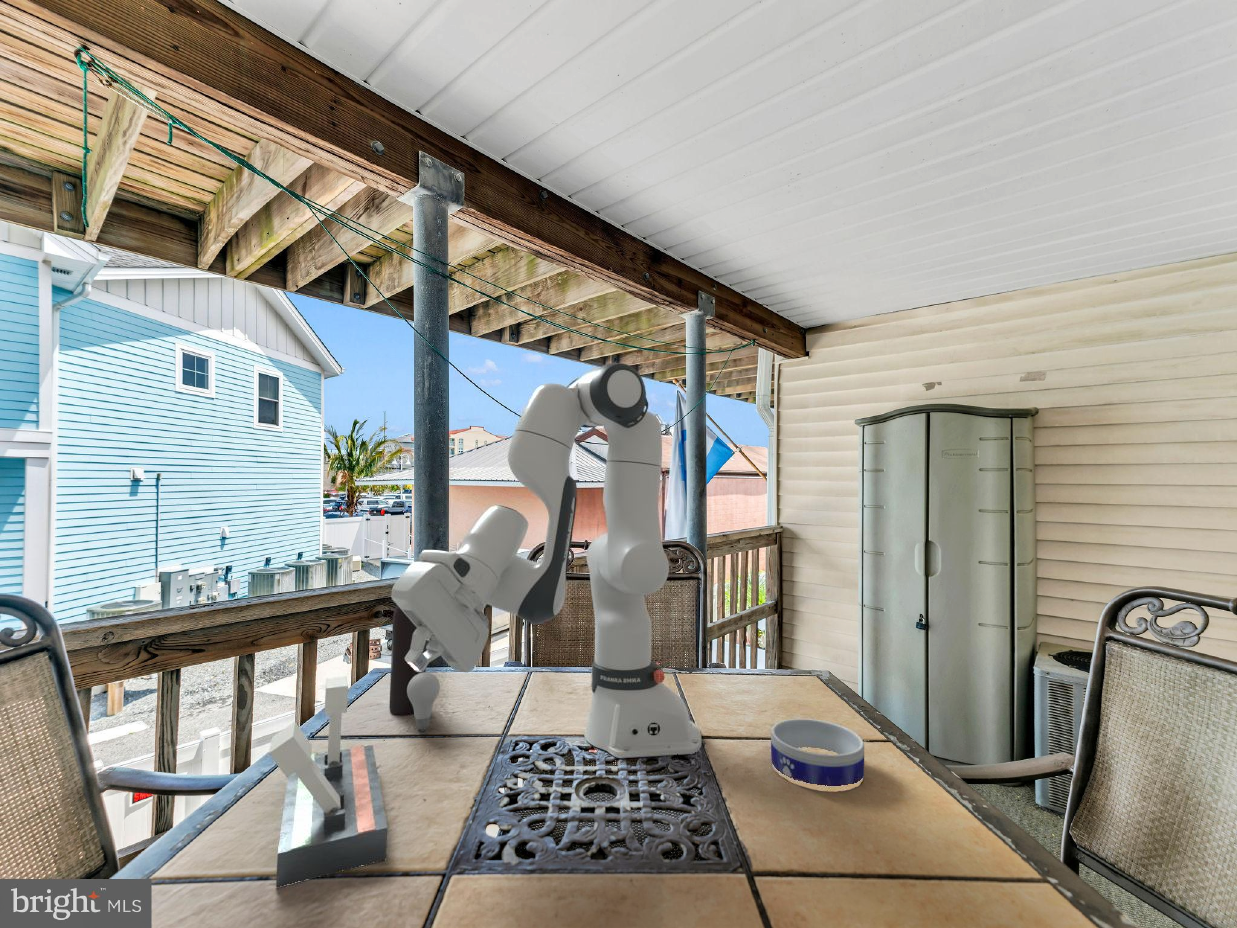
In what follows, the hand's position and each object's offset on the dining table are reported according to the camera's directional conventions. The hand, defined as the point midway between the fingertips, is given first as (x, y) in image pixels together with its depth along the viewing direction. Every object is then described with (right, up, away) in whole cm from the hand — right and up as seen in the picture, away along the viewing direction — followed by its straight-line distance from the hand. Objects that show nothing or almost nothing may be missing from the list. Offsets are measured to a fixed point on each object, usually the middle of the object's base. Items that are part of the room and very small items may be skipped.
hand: (413, 666), depth 80 cm
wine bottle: (-16, -24, +41) cm, 51 cm away
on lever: (-9, -17, -5) cm, 19 cm away
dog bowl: (+63, -25, +18) cm, 70 cm away
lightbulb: (-9, -24, +31) cm, 40 cm away
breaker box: (-12, -22, +1) cm, 25 cm away
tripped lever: (-15, -17, +8) cm, 24 cm away
